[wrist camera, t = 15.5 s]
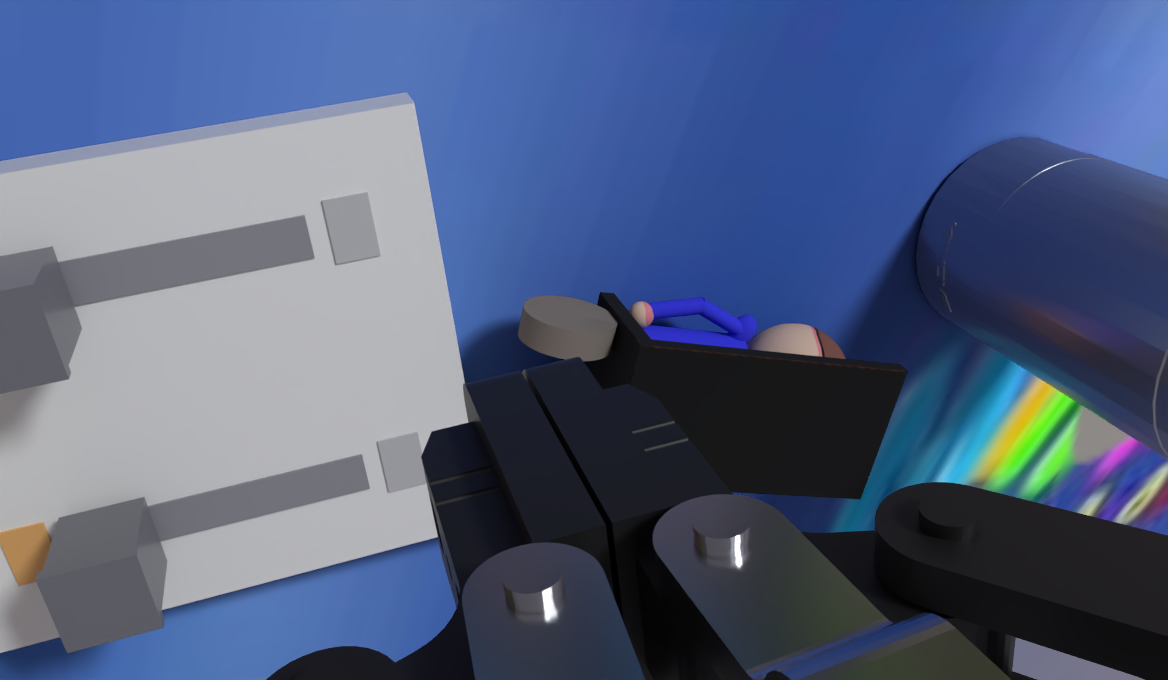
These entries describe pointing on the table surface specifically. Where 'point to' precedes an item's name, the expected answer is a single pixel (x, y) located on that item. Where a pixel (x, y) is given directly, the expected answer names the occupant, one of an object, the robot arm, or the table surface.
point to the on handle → (104, 575)
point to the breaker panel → (233, 349)
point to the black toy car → (735, 388)
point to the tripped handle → (35, 321)
